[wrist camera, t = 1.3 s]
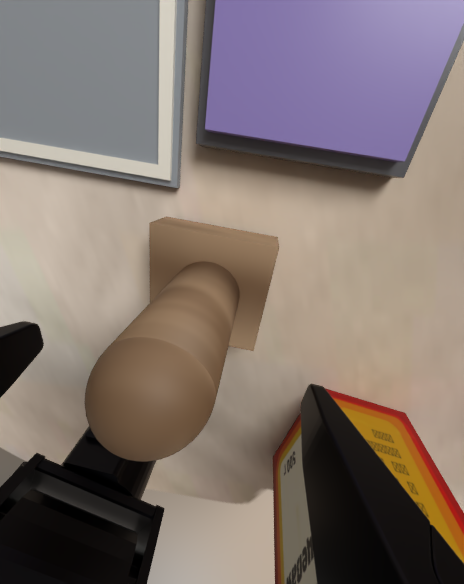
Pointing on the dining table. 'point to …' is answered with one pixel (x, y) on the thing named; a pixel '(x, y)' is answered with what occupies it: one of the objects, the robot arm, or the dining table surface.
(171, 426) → the stamp
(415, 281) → the dining table surface
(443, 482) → the baking soda box
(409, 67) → the ink pad
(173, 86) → the print card
